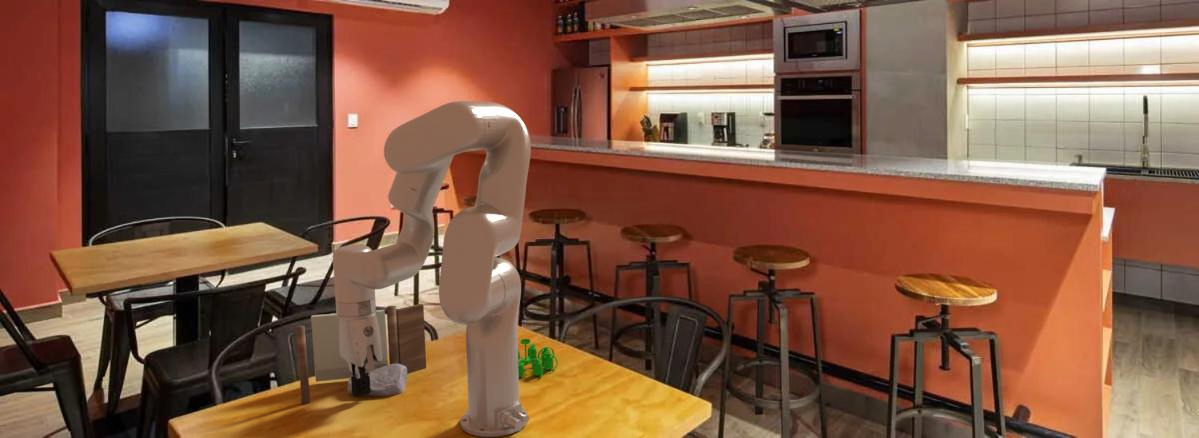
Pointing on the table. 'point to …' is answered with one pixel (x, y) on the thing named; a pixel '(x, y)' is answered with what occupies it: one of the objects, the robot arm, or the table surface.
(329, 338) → the door
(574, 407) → the table surface
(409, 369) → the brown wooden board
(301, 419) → the table surface
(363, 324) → the robot arm
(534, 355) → the chandelier
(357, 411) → the table surface
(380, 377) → the stone block
